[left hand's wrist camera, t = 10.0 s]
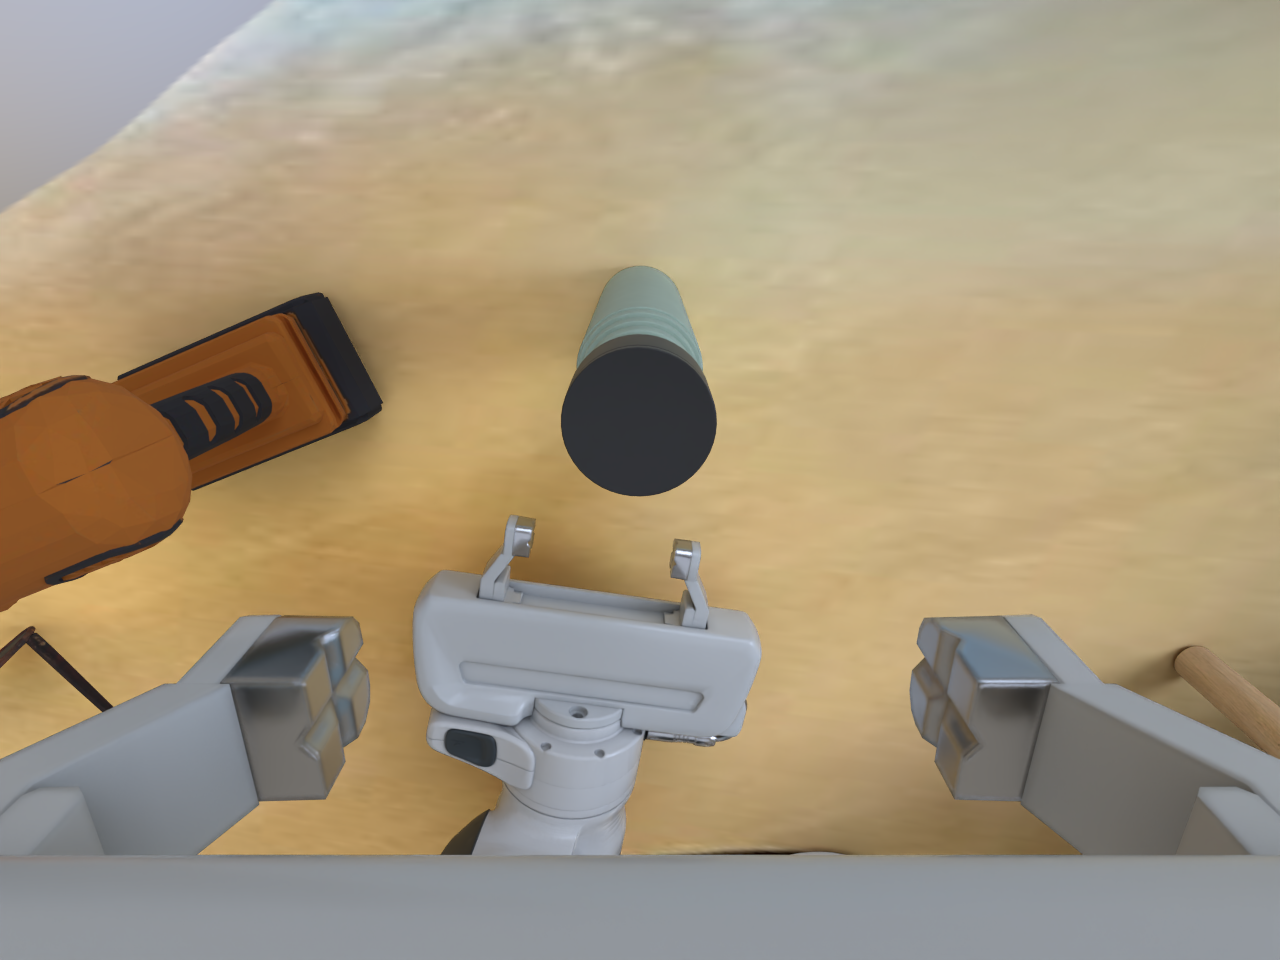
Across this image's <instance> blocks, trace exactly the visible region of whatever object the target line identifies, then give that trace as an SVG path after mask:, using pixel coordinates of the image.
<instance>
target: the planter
mask: <svg viewBox="0 0 1280 960" xmlns="http://www.w3.org/2000/svg"><path fill="white" fill-rule="evenodd" d="M1174 667H1175V670H1176V672H1177V673H1178V674H1179V675H1181V676H1182V677H1183V678H1184V679H1185V680H1186V681H1187V682H1188V683H1189V684H1191V685H1192V686H1193V687H1194V688H1195V689H1196V690H1197V691H1198V692H1199V693H1201V694H1202V695H1203V696H1204V697H1205V698H1206V699H1207V700H1208V701H1209V702H1211V703H1212V704H1213V705H1214V706H1215V707H1216V708H1217V709H1218V710H1219V711H1221V712H1222V713H1223V714H1224V715H1225V716H1226V717H1227V718H1228V719H1230V720H1231V721H1232V722H1233V723H1234V724H1235V725H1236V726H1237V727H1238V728H1240V729H1241V730H1242V731H1243V732H1244V733H1245V734H1246V735H1247V736H1248V737H1250V738H1251V739H1252V740H1253V741H1254V742H1255V743H1256V744H1257V745H1258V746H1260V747H1261V748H1262V749H1263V750H1264V751H1265V752H1266V753H1267V754H1269V755H1271V756H1273V757H1275V758H1277V759H1280V707H1279V706H1278V705H1276V704H1275V703H1274V702H1273V701H1271V700H1270V699H1269V698H1268V697H1267V696H1265V695H1264V694H1263V693H1262V692H1260V691H1259V690H1258V689H1257V688H1255V687H1254V686H1253V685H1252V684H1250V683H1249V682H1248V681H1247V680H1245V679H1244V678H1243V677H1242V676H1241V675H1239V674H1238V673H1237V672H1236V671H1234V670H1233V669H1232V668H1231V667H1229V666H1228V665H1227V664H1226V663H1224V662H1223V661H1222V660H1221V659H1220V658H1218V657H1217V656H1216V655H1215V654H1213V653H1212V652H1211V651H1210V650H1208V649H1207V648H1205V647H1201V646H1194V647H1190V648H1187V649H1185V650H1184V651H1182V652H1181V653H1180V654H1179V655H1178V656H1177V658H1176V660H1175V663H1174Z"/></svg>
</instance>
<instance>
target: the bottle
mask: <svg viewBox="0 0 1280 960" xmlns="http://www.w3.org/2000/svg"><path fill="white" fill-rule="evenodd" d="M633 334H646V335H653V336H658V337H661V338H664V339H667V340H669V341H671V342H673V343H675V344H677V345H678V346H680V347H681V348H683V349H684V350H685V351H686V352H687V353H689V354H690V355H691V356H692V357H693V359H694V360H695V361H696V362H697V363H698V365H699V366H700V368H701V369H702V371H703V364H702V357H701V352H700V349H699V346H698V343H697V341H696V338H695V335H694V332H693V330H692V327H691V324H690V321H689V319H688V316H687V313H686V310H685V308H684V305H683V302H682V299H681V297H680V294H679V291H678V289H677V287H676V286H675V284H674V283H673V281H672V280H671V279H670V278H669V277H668V276H667V275H666V274H664V273H663V272H661V271H659V270H657V269H655V268H652V267H647V266H634V267H629V268H627V269H624V270H622V271H620V272H618V273H617V274H616V275H614V276H613V277H612V278H611V279H610V280H609V282H608V283H607V284H606V286H605V288H604V290H603V292H602V294H601V297H600V299H599V302H598V304H597V307H596V309H595V312H594V314H593V317H592V319H591V322H590V324H589V327H588V329H587V332H586V334H585V337H584V339H583V342H582V344H581V347H580V350H579V353H578V358H577V368H578V367H579V365H580V364H581V362H582V361H583V360H584V359H585V358H586V356H587V355H588V354H590V353H591V352H592V351H593V350H594V349H596V348H597V347H598V346H600V345H601V344H603V343H605V342H607V341H609V340H612V339H614V338H617V337H621V336H625V335H633Z"/></svg>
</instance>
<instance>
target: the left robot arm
mask: <svg viewBox="0 0 1280 960" xmlns="http://www.w3.org/2000/svg"><path fill="white" fill-rule="evenodd" d="M362 645H363V639H362V634H361V629H360V625H359V622H358V621H357V620H356V619H355V618H354V617H349V616H299V615H284V616H281V615H248V616H243V617H240V618H239V619H238V620H237V621H236V622H235V623H234V624H233V625H232V626H231V627H230V628H229V629H228V630H227V631H226V632H225V633H224V634H223V635H222V636H221V638H220V639H219V640H218V641H217V642H216V643H215V644H214V645H213V646H212V647H211V648H210V649H209V650H208V651H207V652H206V653H205V654H204V655H203V656H202V657H201V658H200V659H199V660H198V662H197V663H196V664H195V665H194V666H193V667H192V668H191V669H190V670H189V671H188V672H187V673H186V674H185V675H184V676H183V677H182V678H181V679H180V680H179V681H178V682H177V683H176V684H163V685H161V686H158V687H156V688H154V689H152V690H150V691H148V692H145V693H143V694H141V695H139V696H137V697H135V698H132V699H130V700H128V701H126V702H124V703H122V704H119V705H117V706H115V707H113V708H111V709H109V710H106V711H104V712H102V713H100V714H98V715H96V716H93V717H91V718H89V719H87V720H85V721H82V722H80V723H78V724H76V725H74V726H72V727H69V728H67V729H65V730H63V731H61V732H59V733H56V734H54V735H52V736H50V737H48V738H46V739H43V740H41V741H39V742H37V743H35V744H33V745H30V746H28V747H26V748H24V749H22V750H20V751H17V752H15V753H13V754H11V755H9V756H6V757H4V758H2V759H0V960H1280V759H1277V758H1275V757H1273V756H1271V755H1269V754H1267V753H1264V752H1262V751H1260V750H1258V749H1256V748H1254V747H1251V746H1249V745H1247V744H1245V743H1243V742H1241V741H1238V740H1236V739H1234V738H1232V737H1230V736H1228V735H1225V734H1223V733H1221V732H1219V731H1217V730H1215V729H1212V728H1210V727H1208V726H1206V725H1204V724H1202V723H1199V722H1197V721H1195V720H1193V719H1191V718H1189V717H1186V716H1184V715H1182V714H1180V713H1178V712H1176V711H1173V710H1171V709H1169V708H1167V707H1165V706H1163V705H1160V704H1158V703H1156V702H1154V701H1152V700H1150V699H1147V698H1145V697H1143V696H1141V695H1139V694H1137V693H1134V692H1132V691H1130V690H1128V689H1126V688H1124V687H1121V686H1119V685H1117V684H1104V683H1103V682H1102V681H1101V680H1100V679H1099V678H1098V677H1097V676H1096V675H1095V674H1094V673H1093V672H1092V671H1091V670H1090V669H1089V668H1088V667H1087V666H1086V665H1085V664H1084V663H1083V661H1082V660H1081V659H1080V658H1079V657H1078V656H1077V655H1076V654H1075V653H1074V652H1073V651H1072V650H1071V649H1070V648H1069V647H1068V646H1067V645H1066V644H1065V643H1064V642H1063V641H1062V639H1061V638H1060V637H1059V636H1058V635H1057V634H1056V633H1055V632H1054V631H1053V630H1052V629H1051V628H1050V627H1049V626H1048V625H1047V624H1046V623H1045V622H1044V621H1043V620H1042V619H1041V618H1039V617H1037V616H1034V615H1032V614H1030V615H1003V616H974V617H934V618H924V619H923V621H922V624H921V626H920V628H919V633H918V639H917V645H918V646H919V648H920V650H921V651H922V653H923V655H924V656H925V658H924V659H923V660H922V661H921V662H920V663H919V664H918V665H917V666H916V667H915V668H914V669H913V670H912V676H911V684H910V700H911V711H912V714H913V717H914V721H915V724H916V726H917V728H918V730H919V732H920V734H921V736H922V738H923V739H925V740H926V741H928V742H929V743H931V744H932V745H934V746H935V747H937V750H936V756H935V763H936V765H937V767H938V769H939V771H940V773H941V775H942V777H943V779H944V780H945V782H946V784H947V786H948V788H949V790H950V792H951V794H952V796H953V798H954V799H956V800H992V801H1021V805H1022V806H1023V807H1025V808H1026V809H1027V810H1028V811H1030V812H1031V813H1032V814H1033V815H1035V816H1036V817H1037V818H1038V819H1040V820H1041V821H1042V822H1043V823H1045V824H1046V825H1047V826H1048V827H1049V828H1051V829H1052V830H1053V831H1054V832H1056V833H1057V834H1058V835H1059V836H1061V837H1062V838H1063V839H1064V840H1066V841H1067V842H1068V843H1069V844H1071V845H1072V846H1073V847H1074V848H1076V849H1077V850H1078V851H1079V852H1081V853H1082V854H1083V855H197V854H198V853H200V852H201V851H202V850H203V849H205V848H206V847H207V846H208V845H210V844H211V843H212V842H213V841H215V840H216V839H217V838H218V837H220V836H221V835H222V834H223V833H225V832H226V831H227V830H228V829H230V828H231V827H232V826H233V825H235V824H236V823H237V822H238V821H239V820H241V819H242V818H243V817H244V816H246V815H247V814H248V813H249V812H251V811H252V810H253V809H254V808H256V807H257V806H258V805H259V801H287V800H322V799H326V798H327V796H328V794H329V792H330V790H331V788H332V786H333V784H334V782H335V781H336V779H337V777H338V775H339V773H340V771H341V769H342V767H343V765H344V763H345V756H344V750H343V747H345V746H346V745H348V744H349V743H351V742H352V741H354V740H355V739H357V738H358V736H359V734H360V732H361V730H362V728H363V726H364V724H365V722H366V717H367V713H368V708H369V704H370V682H369V675H368V670H367V669H366V668H365V667H364V666H363V665H362V664H361V663H360V662H359V661H358V660H357V659H356V658H355V656H356V655H357V653H358V651H359V650H360V648H361V646H362Z"/></svg>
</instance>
